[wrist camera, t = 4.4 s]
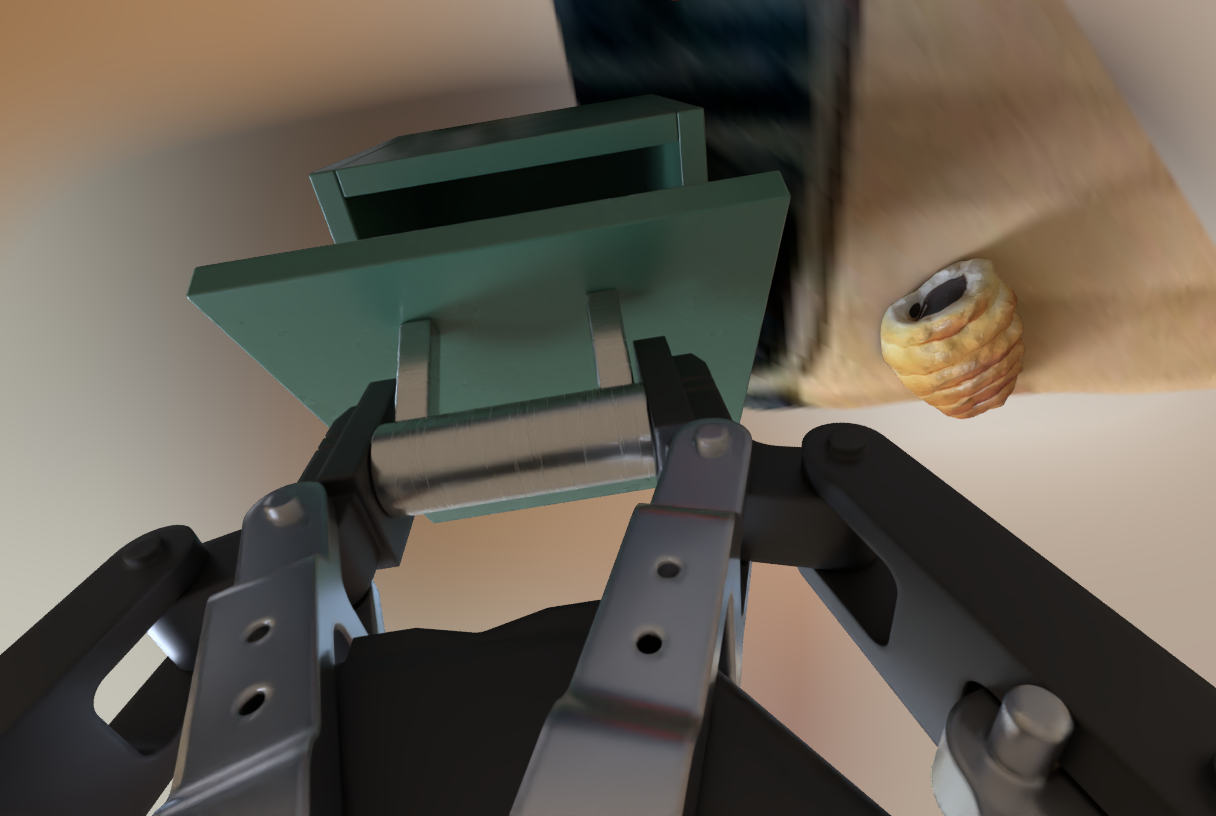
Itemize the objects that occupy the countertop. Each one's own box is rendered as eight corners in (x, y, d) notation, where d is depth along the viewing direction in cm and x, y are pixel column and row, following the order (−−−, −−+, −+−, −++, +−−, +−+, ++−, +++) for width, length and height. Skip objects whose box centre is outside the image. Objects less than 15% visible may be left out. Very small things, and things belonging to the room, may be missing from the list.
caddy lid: (193, 265, 11) (118, 505, 9) (780, 168, 11) (873, 384, 9) (433, 504, 23) (431, 637, 20) (723, 458, 23) (756, 586, 20)
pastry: (1025, 364, 34) (1074, 396, 31) (919, 426, 36) (955, 462, 33) (971, 242, 30) (1021, 263, 27) (855, 318, 32) (889, 347, 29)
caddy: (397, 136, 26) (306, 173, 17) (652, 93, 26) (704, 107, 17) (471, 381, 32) (435, 506, 23) (676, 347, 32) (723, 460, 23)
